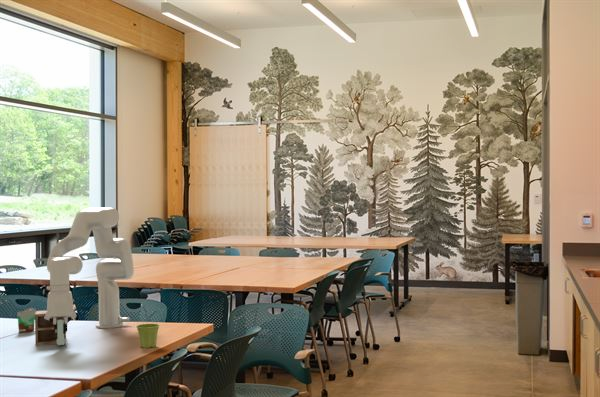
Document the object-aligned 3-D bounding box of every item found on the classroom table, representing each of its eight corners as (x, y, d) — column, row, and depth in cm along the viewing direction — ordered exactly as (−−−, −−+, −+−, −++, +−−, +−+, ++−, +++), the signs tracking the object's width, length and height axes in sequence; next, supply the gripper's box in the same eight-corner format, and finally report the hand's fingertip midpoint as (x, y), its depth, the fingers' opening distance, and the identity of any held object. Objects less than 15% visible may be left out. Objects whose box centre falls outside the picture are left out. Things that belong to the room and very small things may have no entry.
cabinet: (66, 339, 335) (65, 309, 335) (65, 345, 322) (64, 314, 322) (36, 341, 332) (36, 311, 332) (34, 347, 319) (34, 315, 319)
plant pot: (154, 349, 311) (154, 327, 311) (132, 348, 313) (132, 327, 313) (163, 344, 320) (163, 323, 320) (142, 344, 322) (141, 323, 322)
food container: (30, 333, 351) (30, 311, 351) (17, 333, 351) (17, 311, 351) (40, 328, 364) (40, 307, 363) (27, 328, 364) (27, 307, 364)
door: (65, 344, 310) (65, 319, 312) (55, 345, 309) (54, 320, 311) (66, 344, 325) (66, 320, 326) (56, 345, 324) (56, 321, 325)
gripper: (38, 290, 311) (39, 336, 311) (80, 288, 315) (81, 333, 315) (39, 288, 318) (40, 333, 318) (80, 286, 322) (81, 330, 322)
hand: (60, 333), depth 316 cm, fingers open, 2 cm apart
